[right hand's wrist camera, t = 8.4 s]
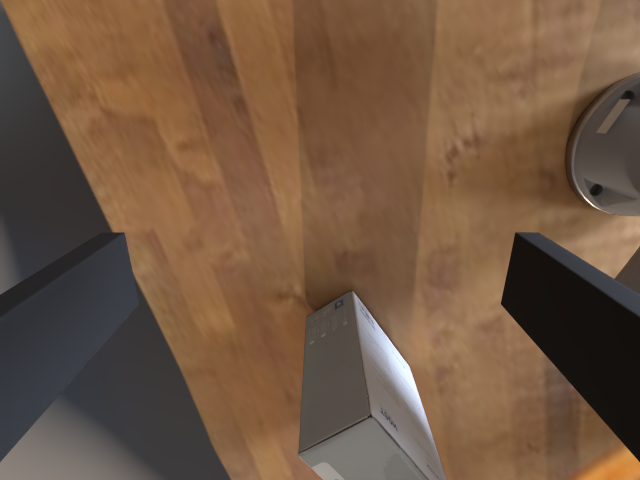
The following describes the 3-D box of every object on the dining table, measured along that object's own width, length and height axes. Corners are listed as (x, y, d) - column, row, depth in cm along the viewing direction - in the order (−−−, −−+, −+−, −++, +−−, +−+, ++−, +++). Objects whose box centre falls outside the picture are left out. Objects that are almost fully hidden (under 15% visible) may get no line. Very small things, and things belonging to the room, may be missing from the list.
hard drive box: (303, 316, 48) (293, 453, 30) (351, 287, 47) (373, 412, 28) (366, 391, 53) (391, 550, 34) (412, 367, 51) (464, 519, 33)
